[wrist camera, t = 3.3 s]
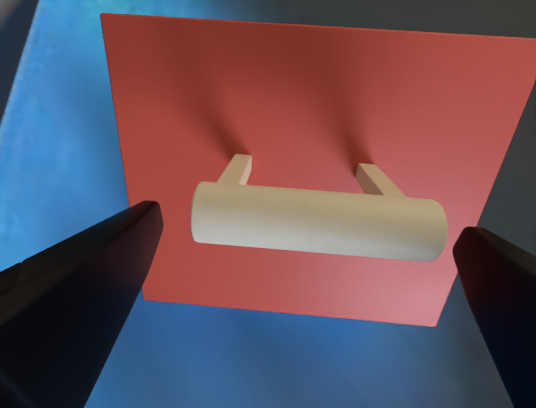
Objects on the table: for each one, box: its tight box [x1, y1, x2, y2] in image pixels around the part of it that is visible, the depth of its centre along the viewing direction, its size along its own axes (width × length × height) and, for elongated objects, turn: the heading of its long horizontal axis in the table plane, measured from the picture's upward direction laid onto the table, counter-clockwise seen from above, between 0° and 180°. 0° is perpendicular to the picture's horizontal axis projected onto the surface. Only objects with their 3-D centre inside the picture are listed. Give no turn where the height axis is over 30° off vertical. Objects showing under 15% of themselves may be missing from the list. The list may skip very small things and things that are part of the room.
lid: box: [100, 13, 536, 327], centre depth 10 cm, size 13×15×6 cm
